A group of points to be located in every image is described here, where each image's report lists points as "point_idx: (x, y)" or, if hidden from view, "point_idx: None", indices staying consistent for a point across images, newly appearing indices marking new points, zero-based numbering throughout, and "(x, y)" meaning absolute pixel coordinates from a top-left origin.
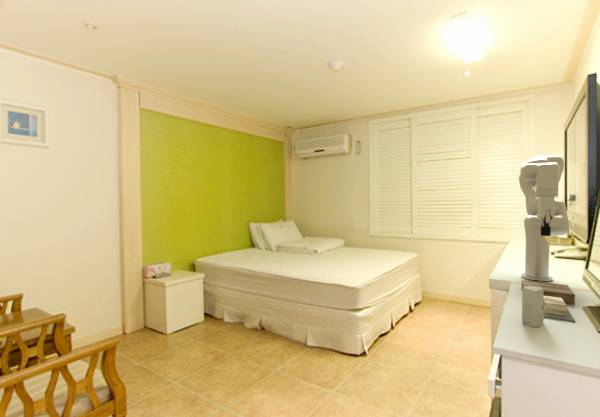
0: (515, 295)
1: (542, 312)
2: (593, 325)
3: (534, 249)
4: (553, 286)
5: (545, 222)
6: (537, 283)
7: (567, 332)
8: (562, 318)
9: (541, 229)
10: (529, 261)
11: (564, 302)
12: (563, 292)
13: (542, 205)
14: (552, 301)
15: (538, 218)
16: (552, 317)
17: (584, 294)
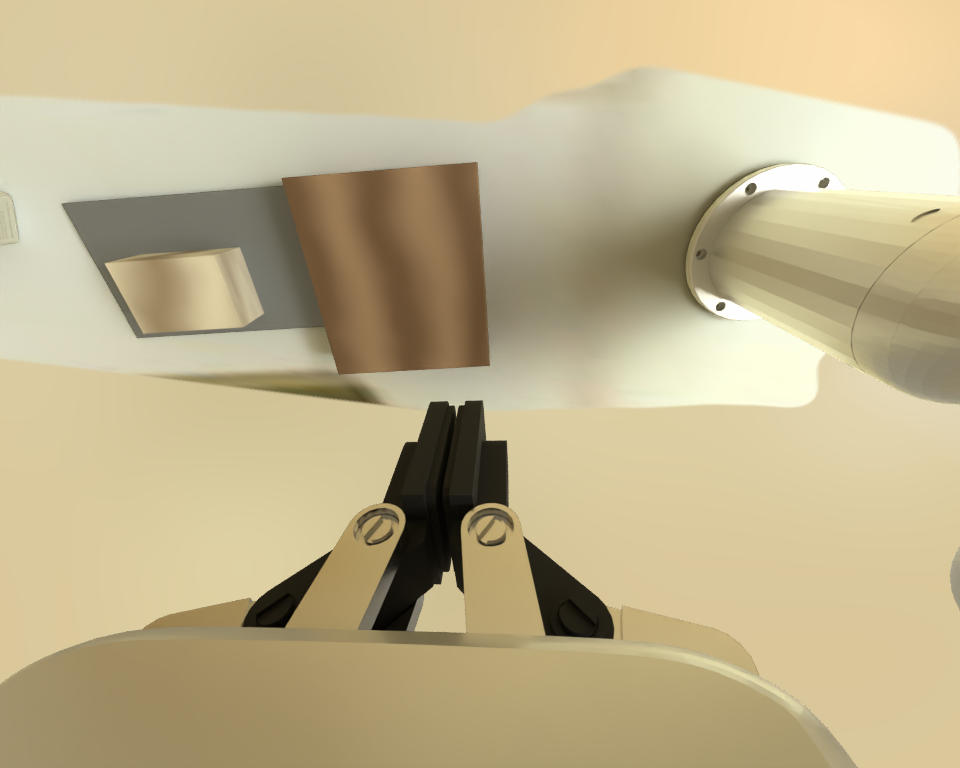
0: (329, 131)
1: None
2: (161, 376)
3: (867, 275)
4: (427, 312)
5: (220, 625)
6: (446, 247)
7: (14, 305)
8: (124, 305)
9: (412, 458)
10: (808, 220)
11: (178, 330)
12: (342, 340)
13: None
14: (151, 291)
15: (218, 648)
16: (102, 275)
17: (522, 398)
